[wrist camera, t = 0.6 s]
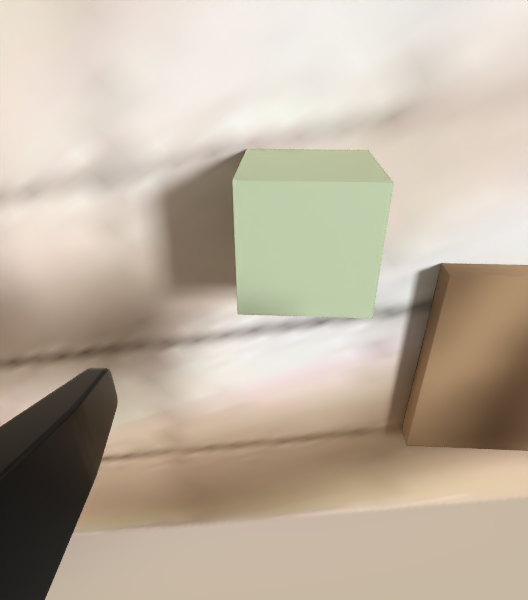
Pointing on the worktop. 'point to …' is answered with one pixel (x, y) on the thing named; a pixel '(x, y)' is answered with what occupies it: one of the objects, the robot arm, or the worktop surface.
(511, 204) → the worktop surface
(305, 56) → the worktop surface
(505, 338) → the walnut board
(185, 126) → the worktop surface
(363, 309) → the sage cube
